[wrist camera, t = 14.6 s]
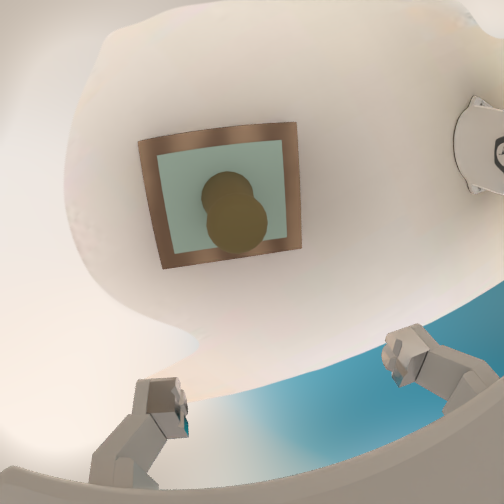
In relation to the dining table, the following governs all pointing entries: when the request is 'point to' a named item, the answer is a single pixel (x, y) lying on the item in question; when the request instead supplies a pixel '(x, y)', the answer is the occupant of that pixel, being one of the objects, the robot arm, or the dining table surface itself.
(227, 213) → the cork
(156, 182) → the wooden tray
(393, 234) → the dining table surface
